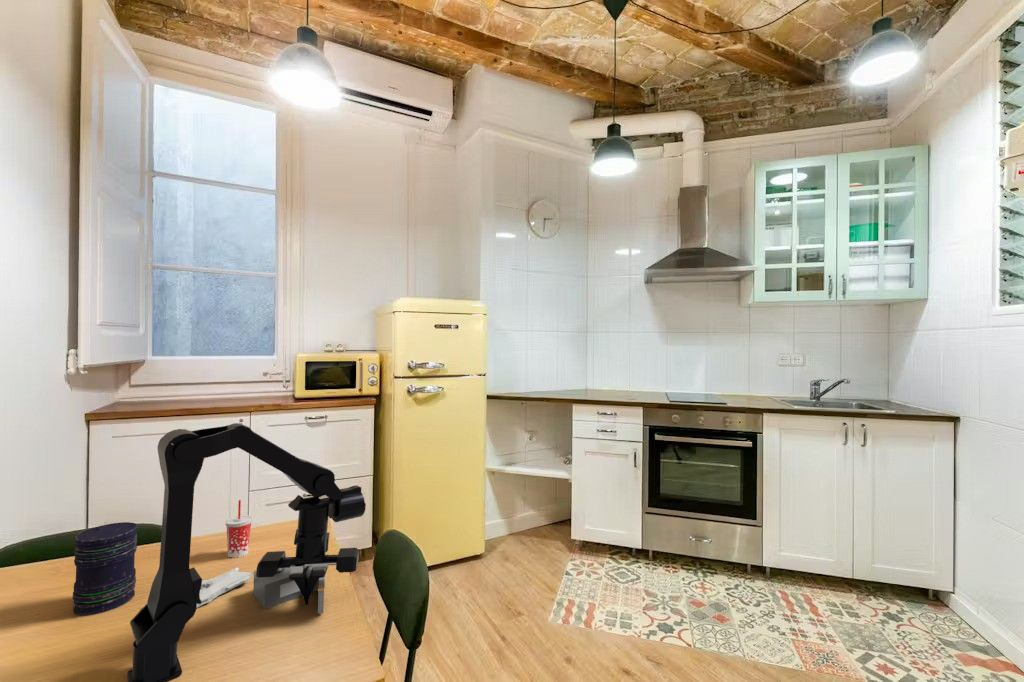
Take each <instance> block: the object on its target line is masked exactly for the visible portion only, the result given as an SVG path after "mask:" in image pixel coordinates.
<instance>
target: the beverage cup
mask: <svg viewBox="0 0 1024 682" xmlns="http://www.w3.org/2000/svg"><path fill="white" fill-rule="evenodd" d="M241 503H242V500H240V499H239V500H238V515H237V516H233V517H231V518H230V517H229V518H228V519H226V520H225V521H224V522H225V527H226V541H227V544H226V545H227V557H228V556H229V557H238V558H240V557H239V556H242V557H244V556H246V555H247V553H248V554H249V552H248V551H250V550H249V548H250V539H251V538H250V537H251V528H252V522H253V518H254V517H253V516H252V515H249V514H248V515H241V507H242V504H241ZM245 554H246V555H245ZM243 555H244V556H243ZM229 557H228V558H229Z"/></svg>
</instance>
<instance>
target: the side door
mask: <svg viewBox="0 0 1024 682" xmlns="http://www.w3.org/2000/svg"><path fill="white" fill-rule="evenodd" d="M325 588H326V576H325V577H323V578H319V585H318V590H317V592H318V594H317V596H318V598H317V614H323V613H324V609H325V608H324V605H325V604H324V603H325Z"/></svg>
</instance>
